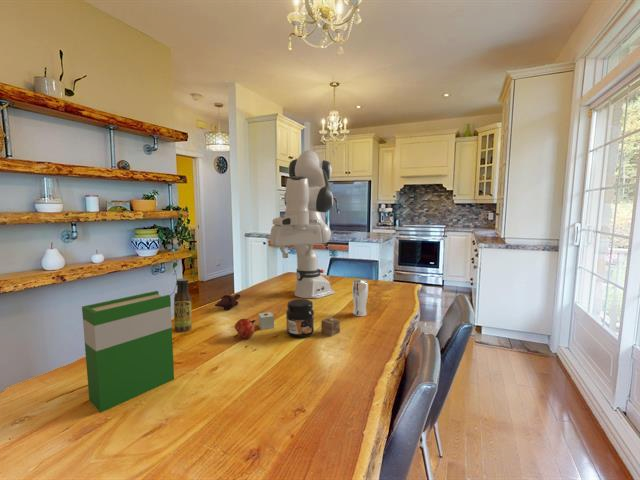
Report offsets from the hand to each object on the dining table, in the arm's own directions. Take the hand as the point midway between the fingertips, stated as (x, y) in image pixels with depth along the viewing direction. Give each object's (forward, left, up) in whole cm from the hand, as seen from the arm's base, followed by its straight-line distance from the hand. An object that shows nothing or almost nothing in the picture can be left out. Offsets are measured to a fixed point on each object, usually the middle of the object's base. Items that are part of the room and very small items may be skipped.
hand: (296, 257), depth 117 cm
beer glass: (-33, -1, -29) cm, 44 cm away
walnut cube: (-10, +8, -29) cm, 32 cm away
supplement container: (0, +2, -29) cm, 29 cm away
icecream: (+13, -40, -29) cm, 52 cm away
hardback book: (+55, +9, -29) cm, 63 cm away
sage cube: (+8, -11, -29) cm, 32 cm away
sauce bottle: (+36, -26, -29) cm, 53 cm away
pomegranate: (+19, -6, -29) cm, 35 cm away
